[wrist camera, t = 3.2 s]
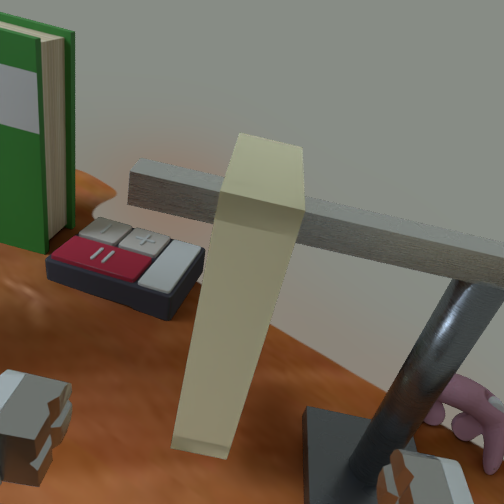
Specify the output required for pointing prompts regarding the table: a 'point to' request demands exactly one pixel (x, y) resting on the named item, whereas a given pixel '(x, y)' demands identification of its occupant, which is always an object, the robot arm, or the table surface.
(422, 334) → the hook stand
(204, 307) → the c-shaped bracket
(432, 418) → the video game controller
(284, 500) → the table surface
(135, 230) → the calculator
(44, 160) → the hardback book
